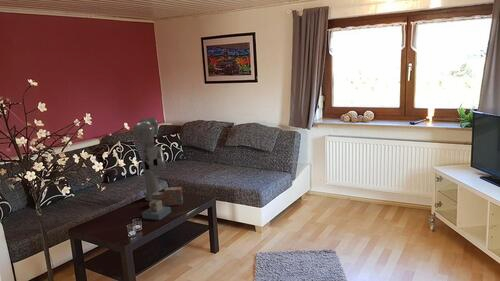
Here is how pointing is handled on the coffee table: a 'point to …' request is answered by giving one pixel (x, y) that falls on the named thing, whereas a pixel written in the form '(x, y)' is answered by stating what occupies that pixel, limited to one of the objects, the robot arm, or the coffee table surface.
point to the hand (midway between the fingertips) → (151, 167)
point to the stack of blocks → (169, 196)
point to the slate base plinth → (156, 213)
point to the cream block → (155, 205)
